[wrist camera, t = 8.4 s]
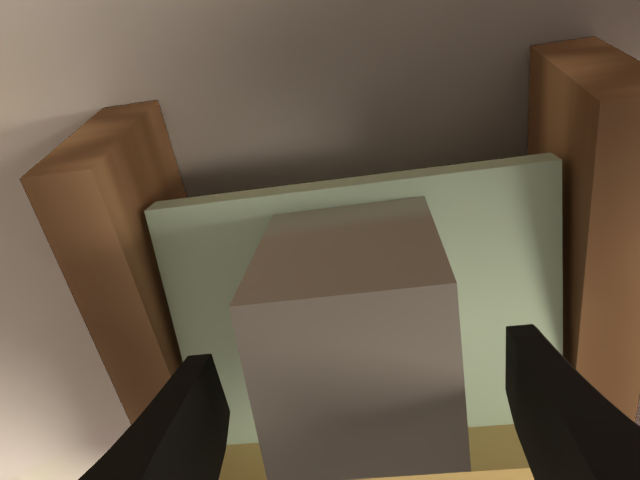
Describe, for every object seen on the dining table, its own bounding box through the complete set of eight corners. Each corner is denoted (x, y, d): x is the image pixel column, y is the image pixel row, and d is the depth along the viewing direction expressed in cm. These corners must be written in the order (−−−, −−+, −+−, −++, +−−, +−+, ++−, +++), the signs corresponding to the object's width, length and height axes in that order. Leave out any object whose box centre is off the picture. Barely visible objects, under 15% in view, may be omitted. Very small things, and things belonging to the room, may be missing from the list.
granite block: (424, 196, 16) (456, 282, 11) (436, 332, 18) (471, 471, 12) (273, 214, 17) (228, 306, 11) (297, 345, 18) (268, 485, 13)
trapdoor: (550, 152, 17) (589, 177, 14) (554, 458, 20) (585, 527, 17) (155, 201, 18) (117, 233, 15) (224, 480, 22) (204, 547, 19)
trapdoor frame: (594, 36, 18) (691, 89, 13) (565, 397, 26) (618, 518, 21) (103, 107, 20) (19, 178, 15) (214, 424, 28) (184, 541, 23)
